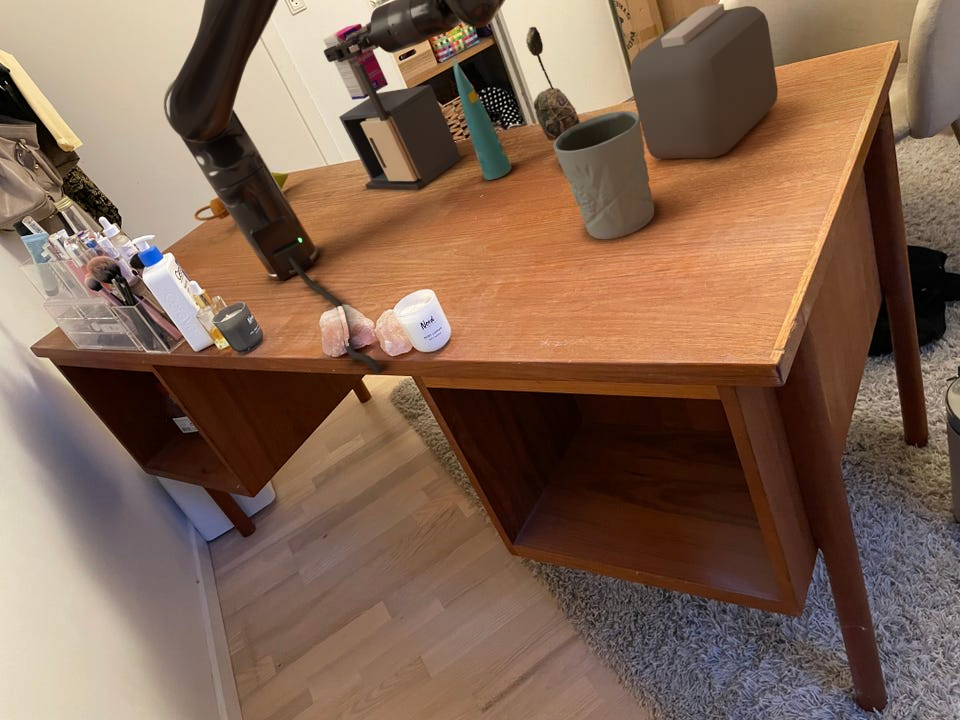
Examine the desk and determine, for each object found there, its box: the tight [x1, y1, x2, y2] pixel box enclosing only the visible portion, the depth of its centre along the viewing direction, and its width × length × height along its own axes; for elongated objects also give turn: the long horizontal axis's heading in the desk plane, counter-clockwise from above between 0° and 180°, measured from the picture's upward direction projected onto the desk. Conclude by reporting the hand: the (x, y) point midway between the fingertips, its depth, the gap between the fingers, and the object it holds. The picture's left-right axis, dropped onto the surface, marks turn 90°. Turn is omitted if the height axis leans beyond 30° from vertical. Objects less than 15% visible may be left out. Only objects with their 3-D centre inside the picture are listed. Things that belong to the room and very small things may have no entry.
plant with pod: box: [525, 26, 581, 168], centre depth 102 cm, size 8×11×20 cm
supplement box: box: [323, 23, 389, 101], centre depth 126 cm, size 6×6×12 cm
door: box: [355, 63, 417, 181], centre depth 123 cm, size 1×9×22 cm, turn 44°
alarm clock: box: [629, 3, 779, 160], centre depth 89 cm, size 16×11×16 cm
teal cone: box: [452, 56, 512, 181], centre depth 111 cm, size 7×5×19 cm, turn 13°
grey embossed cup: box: [552, 110, 655, 240], centre depth 82 cm, size 10×10×12 cm
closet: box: [338, 84, 463, 191], centre depth 130 cm, size 12×18×14 cm, turn 44°
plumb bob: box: [193, 171, 289, 222], centre depth 155 cm, size 9×9×25 cm
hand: (339, 47), depth 126 cm, fingers closed on supplement box, 7 cm apart
